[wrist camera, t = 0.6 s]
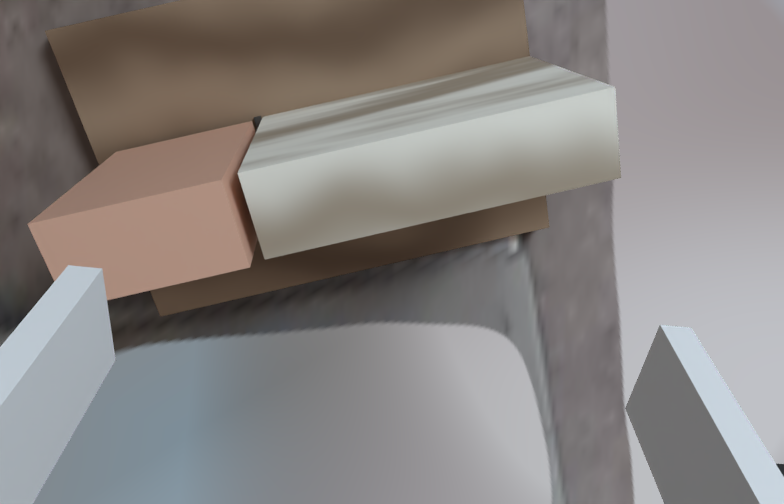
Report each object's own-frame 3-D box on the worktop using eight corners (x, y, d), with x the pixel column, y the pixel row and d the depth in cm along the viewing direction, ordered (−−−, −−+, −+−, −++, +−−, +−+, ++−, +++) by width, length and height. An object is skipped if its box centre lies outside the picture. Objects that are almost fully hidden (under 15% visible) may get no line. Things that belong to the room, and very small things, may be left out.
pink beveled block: (116, 151, 37) (27, 223, 26) (252, 120, 37) (221, 179, 26) (141, 215, 38) (67, 309, 27) (271, 185, 39) (250, 267, 28)
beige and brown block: (55, 28, 36) (-86, 53, 24) (507, -73, 36) (603, -102, 24) (165, 306, 43) (101, 436, 31) (542, 219, 43) (629, 314, 31)
